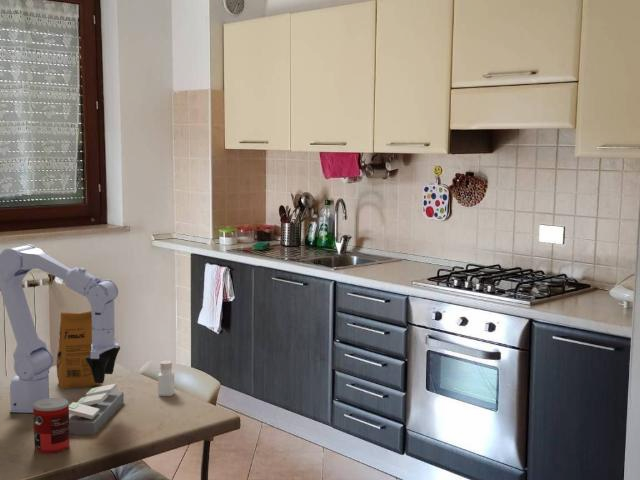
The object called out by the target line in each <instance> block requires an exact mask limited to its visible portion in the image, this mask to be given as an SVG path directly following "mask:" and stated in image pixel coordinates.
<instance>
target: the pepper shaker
mask: <svg viewBox="0 0 640 480" xmlns="http://www.w3.org/2000/svg"><path fill="white" fill-rule="evenodd" d="M172 366H173V363H172V361H171V360H162V361H160V366H159V367H160V368H159V369H160V372H159V373H158V375H157V385H158V388H157V389H158V390H157V391H158V393H157V394H158V396H159V397H172V396H173V394H174V393H175V372H173V371H172V370H173V367H172Z"/></svg>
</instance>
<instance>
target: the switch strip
mask: <svg viewBox="0 0 640 480" xmlns="http://www.w3.org/2000/svg"><path fill="white" fill-rule="evenodd" d="M107 395H108V397H107V398H106V399H105V400H104V401H103V402H102V403H97V404H95V405H94V406H93V407H94V408H98V409H100V410H99V413H98V414H97V415H96V416H95V417H94V418H93V419H89V418H85V417H82V418H81V419H80V420H77V419H76V416H77V415H73V414H69V435H95V434H97V432H98V431H100V429H101V428H102V427H103V425H105V424H106V422H107V421H108V420H109V419H110V418H111V417H112V416H113V415H114V414H115V413H116V411H117V410H118V409H119V408H120V407H121V406H122V405H123V404H124V398H125V397H124V391H113V392H112V393H108V394H107ZM84 397H86V395H85V396H84ZM87 406H88V405H87Z"/></svg>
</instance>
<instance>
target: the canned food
mask: <svg viewBox="0 0 640 480" xmlns="http://www.w3.org/2000/svg"><path fill="white" fill-rule="evenodd" d="M69 405H70V404H69V401H68V400H67V399H65V398H62V397H49V398H47V399H42V400H39V401H36V402H35V403H34V404H33V413H32V416H33V417H32V418H33V419H32V420H33V436H34V437H33V441H34V445H33V446H34V449H35V451H36V452H38V453H41V454H57V453H61V452H63V451H66V450H67V449H68V448H69V447H70V442H71V440H70V434H69Z"/></svg>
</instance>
